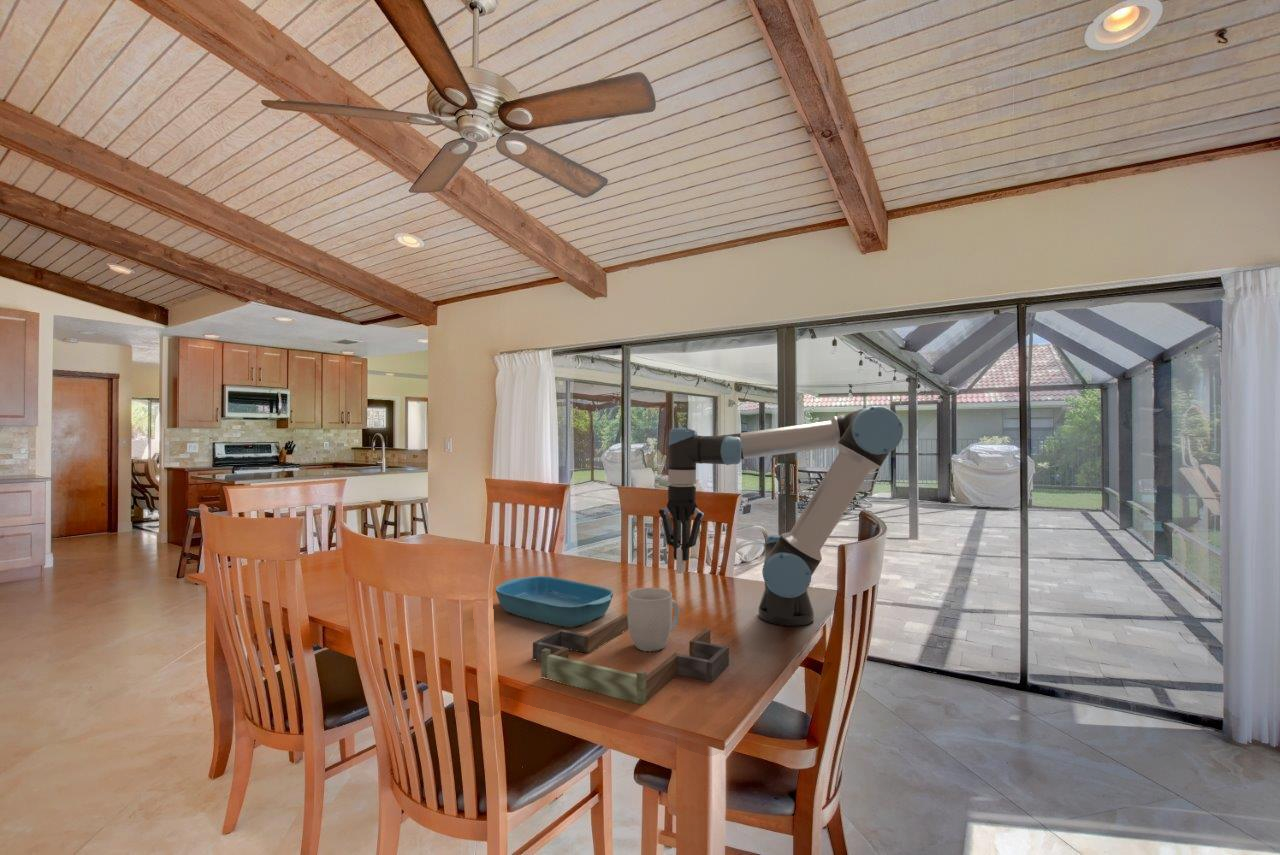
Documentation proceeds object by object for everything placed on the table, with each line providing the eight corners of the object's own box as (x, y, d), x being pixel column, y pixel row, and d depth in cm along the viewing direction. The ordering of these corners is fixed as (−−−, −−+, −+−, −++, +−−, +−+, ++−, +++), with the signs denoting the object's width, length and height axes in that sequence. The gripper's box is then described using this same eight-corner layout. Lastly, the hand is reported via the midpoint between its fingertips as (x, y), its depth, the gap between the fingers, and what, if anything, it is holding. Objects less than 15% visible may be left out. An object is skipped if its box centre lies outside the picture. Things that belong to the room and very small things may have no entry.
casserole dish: (628, 614, 168) (628, 589, 168) (579, 637, 149) (579, 609, 149) (533, 594, 188) (533, 571, 188) (480, 612, 169) (480, 587, 169)
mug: (663, 632, 152) (663, 582, 152) (693, 644, 144) (693, 591, 144) (618, 645, 143) (618, 592, 143) (646, 659, 134) (647, 602, 134)
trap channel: (741, 651, 139) (741, 626, 139) (680, 714, 109) (680, 682, 109) (599, 623, 159) (599, 601, 159) (512, 671, 128) (512, 643, 128)
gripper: (709, 485, 158) (708, 572, 158) (666, 482, 164) (665, 566, 164) (698, 487, 151) (697, 578, 151) (654, 484, 158) (653, 571, 158)
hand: (680, 572), depth 158 cm, fingers closed
